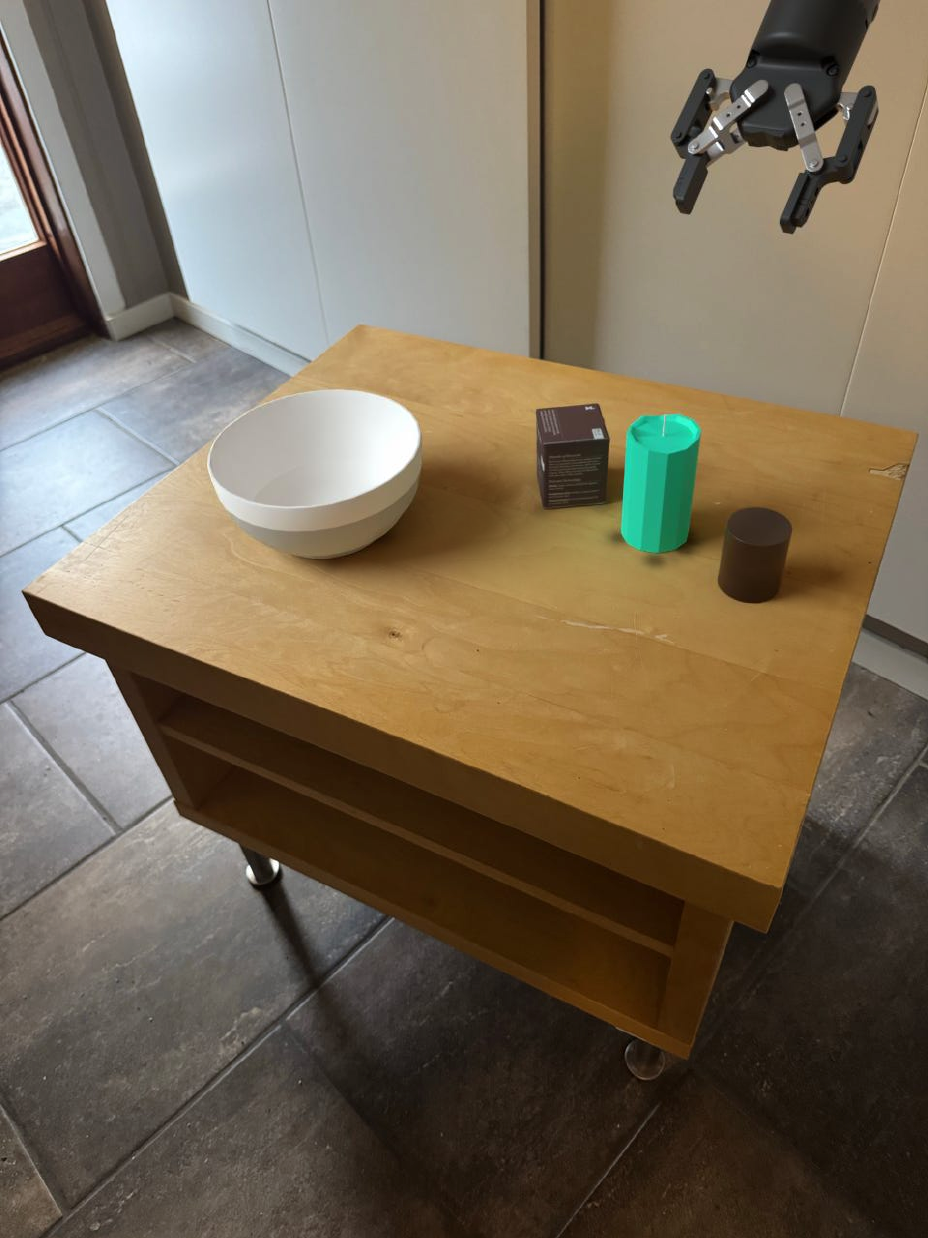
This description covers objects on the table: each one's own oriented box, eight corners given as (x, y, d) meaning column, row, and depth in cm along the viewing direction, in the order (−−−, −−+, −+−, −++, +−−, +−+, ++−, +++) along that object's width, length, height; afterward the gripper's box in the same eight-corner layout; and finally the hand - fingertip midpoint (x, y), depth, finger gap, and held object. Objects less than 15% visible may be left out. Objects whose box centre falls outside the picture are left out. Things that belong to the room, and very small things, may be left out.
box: (536, 473, 91) (534, 407, 86) (597, 468, 91) (599, 401, 86) (543, 510, 87) (542, 443, 82) (607, 504, 87) (610, 437, 82)
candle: (699, 523, 84) (715, 405, 76) (672, 560, 80) (685, 441, 72) (638, 504, 86) (646, 388, 78) (609, 540, 83) (615, 423, 75)
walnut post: (792, 582, 77) (805, 524, 73) (756, 611, 75) (768, 554, 71) (741, 555, 80) (751, 499, 76) (705, 584, 78) (713, 527, 74)
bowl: (386, 605, 79) (372, 523, 73) (192, 570, 84) (164, 491, 78) (457, 479, 91) (451, 400, 85) (286, 455, 97) (268, 379, 91)
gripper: (720, -30, 70) (634, 179, 71) (916, -21, 63) (816, 210, 64) (742, 35, 76) (663, 226, 78) (921, 50, 69) (830, 258, 71)
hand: (732, 218), depth 71 cm, fingers open, 8 cm apart
